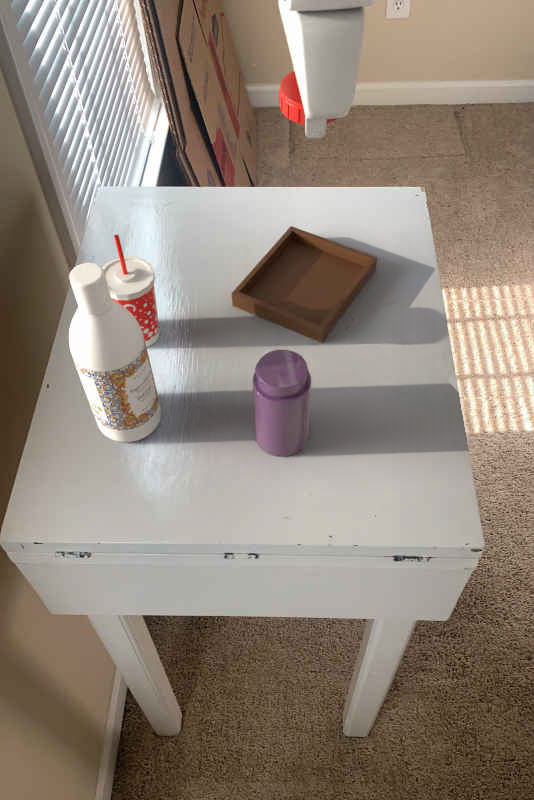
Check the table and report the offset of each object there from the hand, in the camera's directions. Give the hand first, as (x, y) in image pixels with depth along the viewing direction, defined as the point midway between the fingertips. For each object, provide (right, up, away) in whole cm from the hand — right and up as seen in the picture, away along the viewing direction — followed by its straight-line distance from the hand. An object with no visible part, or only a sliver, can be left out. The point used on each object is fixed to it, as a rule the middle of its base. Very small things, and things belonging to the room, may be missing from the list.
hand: (308, 112), depth 64 cm
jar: (-2, -30, +9) cm, 31 cm away
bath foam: (-19, -28, +11) cm, 35 cm away
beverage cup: (-19, -17, +17) cm, 31 cm away
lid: (0, +1, -2) cm, 2 cm away
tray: (+1, -11, +21) cm, 24 cm away
